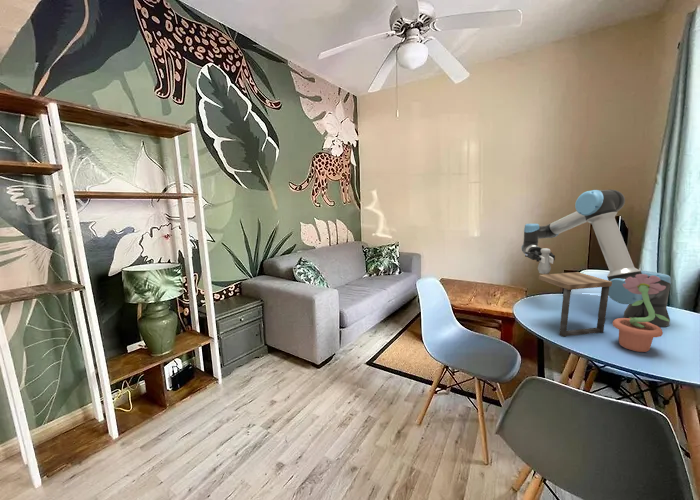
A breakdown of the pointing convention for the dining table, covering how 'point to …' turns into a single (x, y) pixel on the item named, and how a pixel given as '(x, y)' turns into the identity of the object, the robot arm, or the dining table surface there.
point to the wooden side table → (569, 283)
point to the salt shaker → (545, 267)
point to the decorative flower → (639, 330)
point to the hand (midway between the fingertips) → (548, 260)
